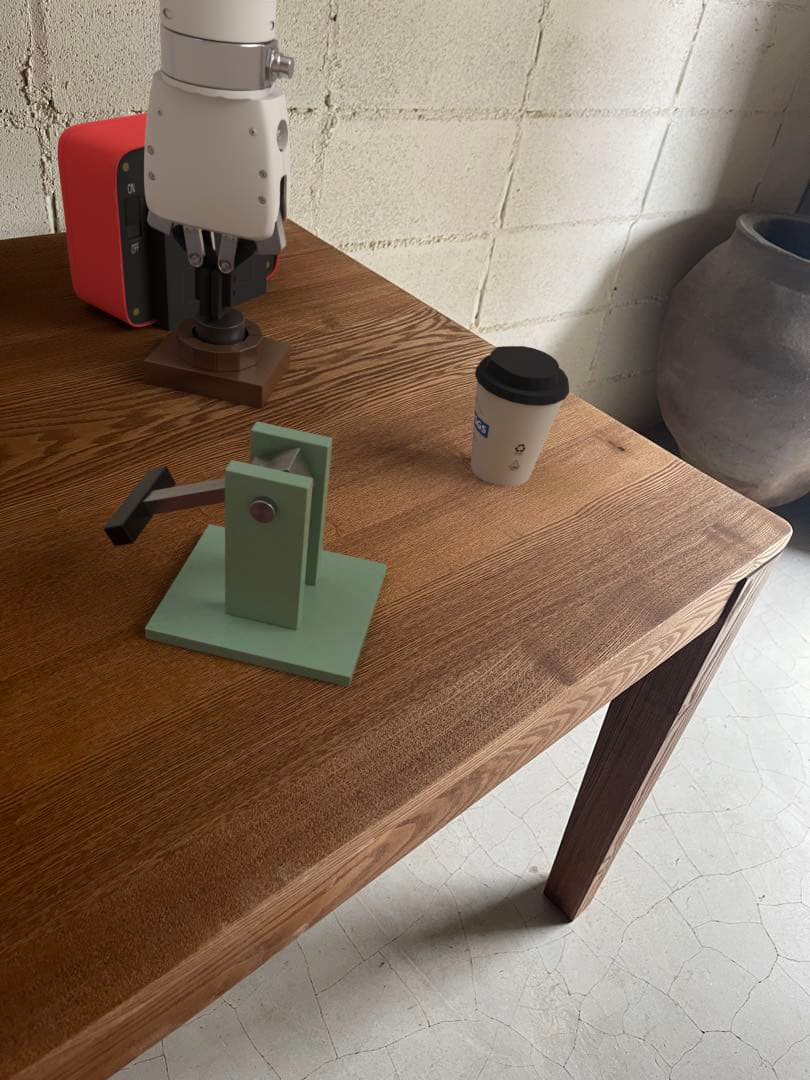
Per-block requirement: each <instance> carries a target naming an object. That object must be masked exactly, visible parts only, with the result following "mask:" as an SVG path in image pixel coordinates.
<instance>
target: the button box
mask: <svg viewBox="0 0 810 1080" xmlns="http://www.w3.org/2000/svg"><path fill="white" fill-rule="evenodd" d="M291 355H292V343H290V342H286V341H282V340H277V339H272V338H271V339H270V338H267V337H264V334H263V331H262V329H261V327H260V325H259V324H257V323H255V322H253V321H251V320H250V319H248V318H246V317H245V338H244V340H243V341H242V342H239V343H237V344H234V345H218V346H217V345H213V344H208V343H203V342H202V341H200V340H199V339H197V338H196V334H195V316H194V317H191V318H187V319H185V320H184V321H183V320H182V321H181V322H180V323H179V324H178V325H177V326H176V327H175V328H174V329H173V330H171V331H169V333H168V334H167V335H166V337H164V338H163V339H162V341H160V342H159V344H158V345H157V346H156V347H155V348H154V349H153V350H152V351H151V352H150V353H149V355H148V356H146V358H145V359H144V360H143V368H144V380H145V381H144V383H145V385H150V386H155V387H160V388H163V389H164V388H165V389H167V390H168V389H169V390H173V391H177V392H182V393H187V394H191V395H196V396H200V397H205V398H209V399H214V400H218V401H223V402H228V403H233V404H238V405H241V406H246V407H251V408H254V409H255V408H256V409H259V410H262V409H263V408H264V407H265V405H266V403H268V401H269V399H270V397H271V396H272V395H273V392H274V391H275V390H276V388H277V386H279V383H280V382H281V380H282V379H283V377H284V376H285V374H286V373H287V371H288V370H289V368H290V366H291Z"/></svg>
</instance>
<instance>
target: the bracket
mask: <svg viewBox="0 0 810 1080" xmlns="http://www.w3.org/2000/svg"><path fill="white" fill-rule="evenodd" d="M333 440H334V439H333V437H330V436H326V435H322V434H316V433H312V432H307V431H303V430H298V429H294V428H289V427H285V426H280V425H275V424H271V423H266V422H262V421H255V423H254V424H253V425H252V427H251V429H250V442H249V443H250V445H249V463H247V462H243V461H240V460H239V461H238V460H234V459H231V460H230V461H229V463H228V464H227V466H226V467H225V469H224V478H225V503H224V526H220V525H216V524H212V523H208V525H207V527H206V529H205V530H204V531H203V533H202V535H201V536H200V538H199V540H198V541H197V543H196V544H195V546H194V548H193V549H192V551H191V553H190V554H189V556H188V557H187V559H186V561H185V562H184V564H183V565H182V567H181V569H180V570H179V572H178V574H177V575H176V577H175V578H174V580H173V581H172V583H171V585H170V586H169V588H168V590H167V591H166V593H165V595H164V597H163V598H162V599H161V601H160V602H159V604H158V606H157V608H156V609H155V611H154V613H153V614H152V616H151V617H150V619H149V621H148V622H147V624H146V625H145V627H144V634H145V635H144V636H145V639H147V640H150V641H155V642H159V643H163V644H168V645H172V646H175V647H180V648H183V649H188V650H191V651H192V650H193V651H197V652H201V653H205V654H209V655H213V656H218V657H221V658H225V659H230V660H233V661H238V662H242V663H247V664H251V665H254V666H259V667H263V668H267V669H272V670H276V671H280V672H284V673H288V674H291V675H297V676H300V677H305V678H309V679H313V680H318V681H322V682H327V683H331V684H333V685H338V686H343V687H347V688H350V687H351V683H352V680H353V677H354V674H355V671H356V668H357V664H358V661H359V659H360V655H361V653H362V649H363V647H364V644H365V641H366V637H367V633H368V631H369V628H370V625H371V622H372V620H373V619H372V618H373V615H374V612H375V609H376V607H377V603H378V599H379V598H380V594H381V590H382V588H383V584H384V581H385V578H386V575H387V570H388V564H386V563H382V562H378V561H374V560H369V559H365V558H360V557H356V556H351V555H348V554H343V553H340V552H339V553H338V552H334V551H331V550H326V549H325V550H324V549H323V546H324V536H325V525H326V515H327V505H328V494H329V482H330V471H331V462H332V461H331V460H332V452H333V451H332V449H333V442H334V441H333ZM294 448H300V449H301V451H302V454H303V456H304V458H305V460H306V463H307V465H308V467H309V470H310V472H311V474H312V476H313V478H310V477H306V476H301V475H297V474H293V473H288V472H284V471H279V470H275V469H270V468H266V467H261V466H257V465H252V464H250V463H251V462H252V460H253V459H254V457H255V456H258V455H263V454H268V453H273V452H279V451H284V450H289V449H294ZM313 479H314V481H315V485H314V487H313V489H312V484H313Z"/></svg>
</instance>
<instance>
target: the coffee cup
mask: <svg viewBox="0 0 810 1080" xmlns="http://www.w3.org/2000/svg"><path fill="white" fill-rule="evenodd" d="M474 376H475V379H476V390H475V391H476V392H475V402H474V403H475V404H474V415H473V416H474V417H473V429H472V441H471V453H470V454H471V455H470V468H471V470H472V472H473V473H474V475H475V476H476V477H477V478H479V479H480V480H482V481H483V482H485V483H488V484H491V485H493V486H499V487H504V488H507V487H510V488H511V487H512V488H513V487H517V486H521V485H524V483H526V482H527V481H528V480H529V479H530V477H531V475H532V473H533V470H534V468H535V466H536V464H537V461H538V460H539V456H540V454H541V452H542V449H543V447H544V445H545V443H546V441H547V438H548V437H549V436H548V435H549V434H550V431H551V430H552V429H551V428H552V426H553V424H554V422H555V419H556V417H557V416H558V413H559V411H560V408H561V406H562V404H563V401H564V400H565V399H566V398H567V397H568V396H569V394H570V383H569V382H570V381H569V378H568V376H567V374H566V373H565V371H564V370H563V369H562V368H561V367H560V364H559V362H558V360H557V359H555V358H554V357H553V356H552V355H550V354H548V353H547V352H545V351H543V350H540V349H538V348H534V347H529V346H524V345H504V346H502V345H501V346H496V347H495V348H494V349H493V350H492V351H491V352H490V354H489V355H486V356H485V357H483V359H482V360H481V361H480V362H479V363H478V365H477V366H476V367H475V371H474Z"/></svg>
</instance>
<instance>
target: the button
mask: <svg viewBox="0 0 810 1080" xmlns="http://www.w3.org/2000/svg"><path fill="white" fill-rule="evenodd" d="M245 318H246V316H245V315H244V314H243V313H242V312H241V311H240V310H238V309H236V308H234V307H232V308H231V307H230V309H229V310H228V311H227V312H226V313H225V314H224V316H223V317H222V318H221V319H220V320H218V319H214V318H213V317H212V316H211V315H210V316H207V317H205V316H201V315H200V310H199V311H198V312H197V313H196V315H195V334H196V338H197V339H199V340H200V341H202V342H203V343H208V344H213V345H217V346H218V345H234V344H237V343H239V342H242V341H243V340H244V338H245Z"/></svg>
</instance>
